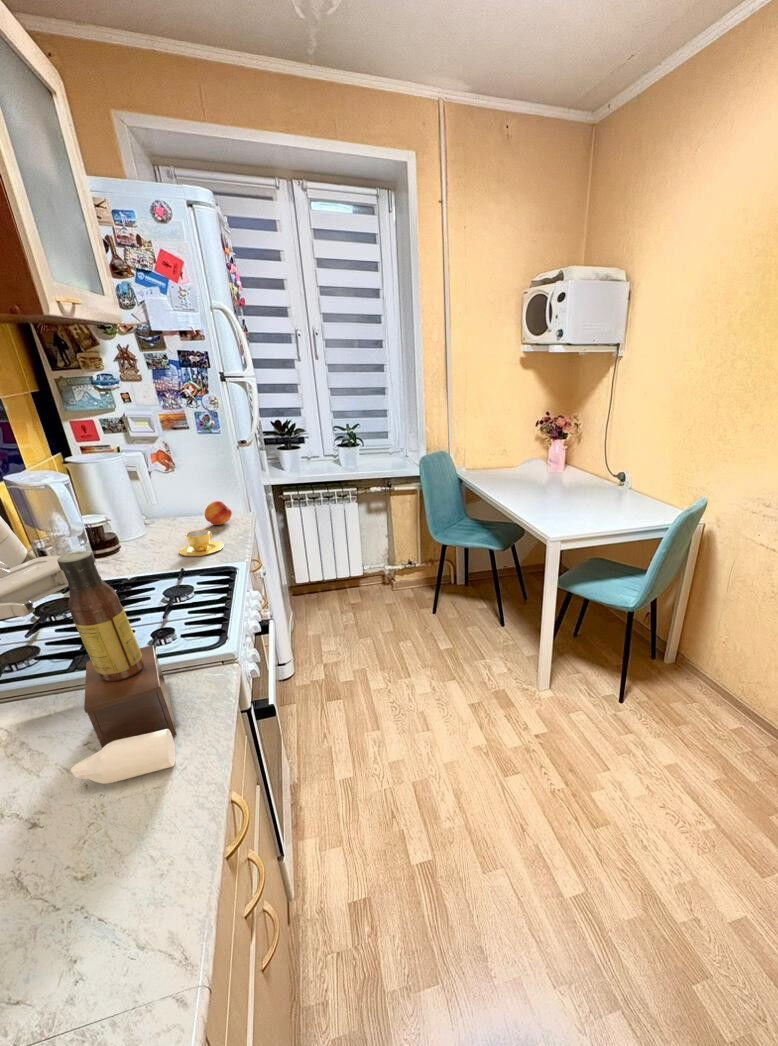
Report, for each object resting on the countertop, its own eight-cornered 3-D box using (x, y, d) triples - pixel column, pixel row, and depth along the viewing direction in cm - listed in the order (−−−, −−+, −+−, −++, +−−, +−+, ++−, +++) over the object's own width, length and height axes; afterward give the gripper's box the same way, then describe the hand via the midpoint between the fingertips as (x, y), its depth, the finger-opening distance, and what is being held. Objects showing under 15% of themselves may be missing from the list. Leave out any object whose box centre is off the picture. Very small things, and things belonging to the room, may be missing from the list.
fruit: (229, 527, 176) (224, 504, 172) (204, 528, 175) (198, 505, 171) (235, 520, 183) (230, 498, 179) (211, 521, 182) (206, 499, 178)
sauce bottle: (132, 656, 84) (92, 543, 76) (154, 667, 82) (114, 550, 73) (88, 676, 79) (40, 557, 71) (109, 689, 77) (62, 566, 68)
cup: (204, 559, 150) (199, 541, 147) (170, 555, 153) (165, 538, 150) (232, 545, 160) (228, 528, 158) (199, 541, 163) (195, 525, 161)
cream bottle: (84, 772, 75) (70, 742, 73) (177, 748, 79) (167, 719, 77) (74, 802, 70) (59, 771, 68) (174, 774, 75) (163, 744, 72)
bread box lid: (161, 690, 77) (160, 686, 77) (85, 713, 73) (83, 708, 72) (154, 648, 88) (153, 644, 88) (87, 666, 83) (86, 661, 83)
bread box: (176, 735, 82) (161, 688, 78) (106, 759, 77) (85, 710, 73) (168, 692, 92) (154, 649, 88) (106, 711, 88) (88, 666, 84)
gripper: (49, 578, 88) (121, 584, 86) (-88, 640, 69) (-1, 648, 67) (34, 544, 85) (109, 548, 83) (-112, 598, 67) (-21, 606, 65)
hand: (59, 594), depth 75 cm, fingers open, 8 cm apart
